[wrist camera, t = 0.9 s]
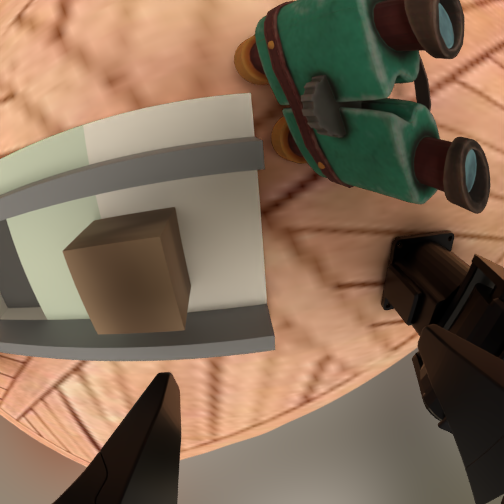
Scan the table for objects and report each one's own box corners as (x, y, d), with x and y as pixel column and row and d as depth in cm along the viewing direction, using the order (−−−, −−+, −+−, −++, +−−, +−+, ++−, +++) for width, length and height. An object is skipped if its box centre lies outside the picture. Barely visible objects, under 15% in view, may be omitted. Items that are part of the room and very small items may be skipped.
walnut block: (175, 206, 15) (160, 236, 11) (191, 285, 17) (184, 330, 13) (94, 220, 14) (62, 251, 11) (117, 293, 17) (97, 334, 13)
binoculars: (527, 157, 8) (445, 286, 6) (385, 123, 16) (271, 190, 15) (494, -20, 3) (360, -82, 1) (342, 4, 11) (197, 40, 10)
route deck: (247, 96, 14) (258, 85, 10) (265, 323, 21) (276, 373, 17) (-41, 184, 13) (-77, 204, 8) (18, 334, 20) (-2, 368, 16)
